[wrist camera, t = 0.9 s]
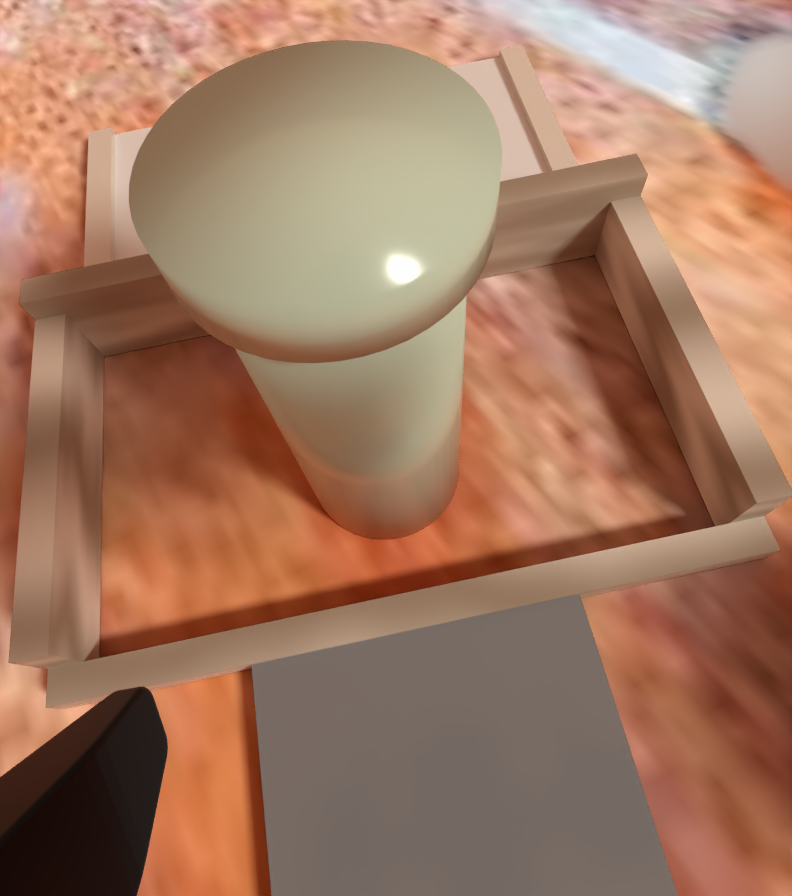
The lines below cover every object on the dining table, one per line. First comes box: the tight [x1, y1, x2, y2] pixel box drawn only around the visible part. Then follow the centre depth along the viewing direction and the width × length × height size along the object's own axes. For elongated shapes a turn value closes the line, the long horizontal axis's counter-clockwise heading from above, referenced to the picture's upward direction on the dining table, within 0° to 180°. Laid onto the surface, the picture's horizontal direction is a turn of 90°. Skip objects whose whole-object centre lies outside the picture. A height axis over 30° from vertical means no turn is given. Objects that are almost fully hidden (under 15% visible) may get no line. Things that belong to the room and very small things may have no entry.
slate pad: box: [251, 594, 678, 896], centre depth 18 cm, size 11×11×1 cm
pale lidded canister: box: [129, 40, 502, 540], centre depth 17 cm, size 7×7×14 cm
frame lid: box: [84, 45, 579, 267], centre depth 30 cm, size 12×23×1 cm, turn 101°
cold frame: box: [8, 154, 792, 709], centre depth 22 cm, size 15×24×4 cm, turn 101°
